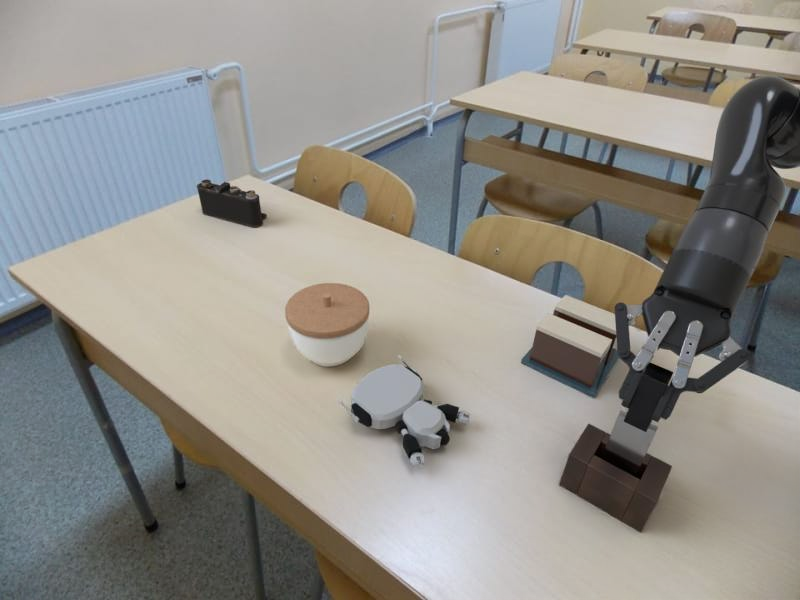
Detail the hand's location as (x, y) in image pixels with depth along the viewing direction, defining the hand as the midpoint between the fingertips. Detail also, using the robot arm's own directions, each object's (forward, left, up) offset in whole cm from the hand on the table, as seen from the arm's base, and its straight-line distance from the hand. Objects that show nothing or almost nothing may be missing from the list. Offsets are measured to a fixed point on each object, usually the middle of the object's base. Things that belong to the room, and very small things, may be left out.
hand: (640, 413), depth 53 cm
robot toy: (+26, +5, -16) cm, 31 cm away
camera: (+94, -19, -16) cm, 97 cm away
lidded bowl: (+44, +1, -16) cm, 47 cm away
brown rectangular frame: (0, -2, -16) cm, 16 cm away
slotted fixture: (+13, -22, -16) cm, 30 cm away
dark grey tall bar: (0, -2, -11) cm, 11 cm away
